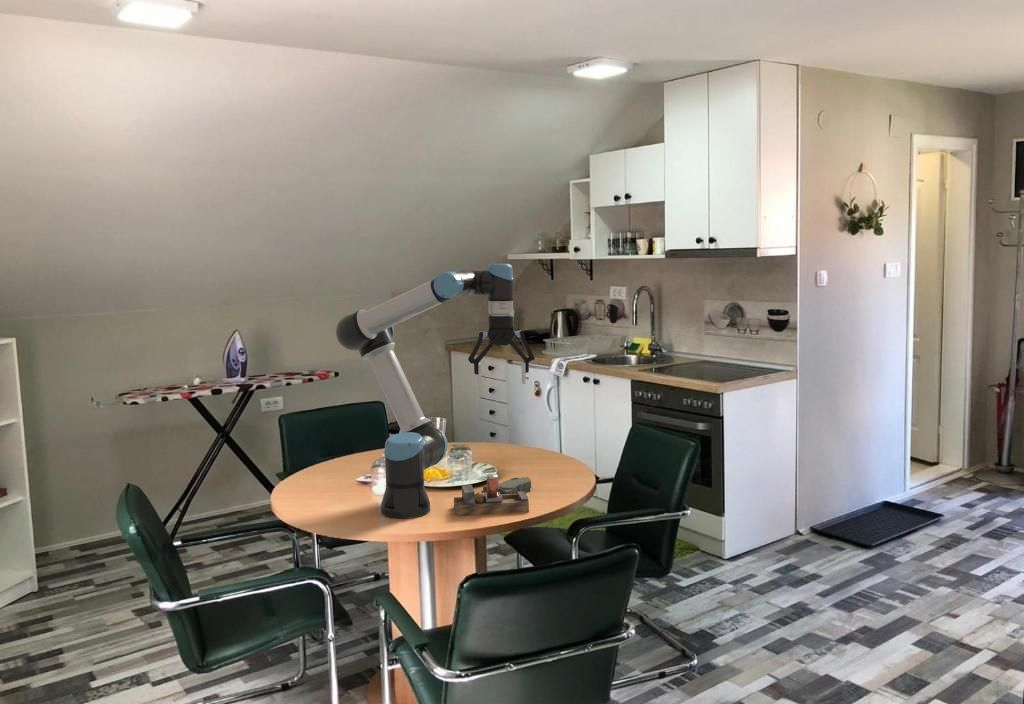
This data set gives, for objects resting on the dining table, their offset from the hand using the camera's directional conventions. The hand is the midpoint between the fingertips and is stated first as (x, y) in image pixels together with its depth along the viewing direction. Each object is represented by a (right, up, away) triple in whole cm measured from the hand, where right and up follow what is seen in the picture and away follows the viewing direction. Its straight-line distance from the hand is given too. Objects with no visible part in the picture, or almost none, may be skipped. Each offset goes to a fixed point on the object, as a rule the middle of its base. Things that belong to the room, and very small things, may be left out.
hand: (501, 384), depth 257 cm
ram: (-3, -36, +2) cm, 37 cm away
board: (-3, -39, +2) cm, 39 cm away
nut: (-7, -37, +2) cm, 37 cm away
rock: (+1, -37, +23) cm, 43 cm away
